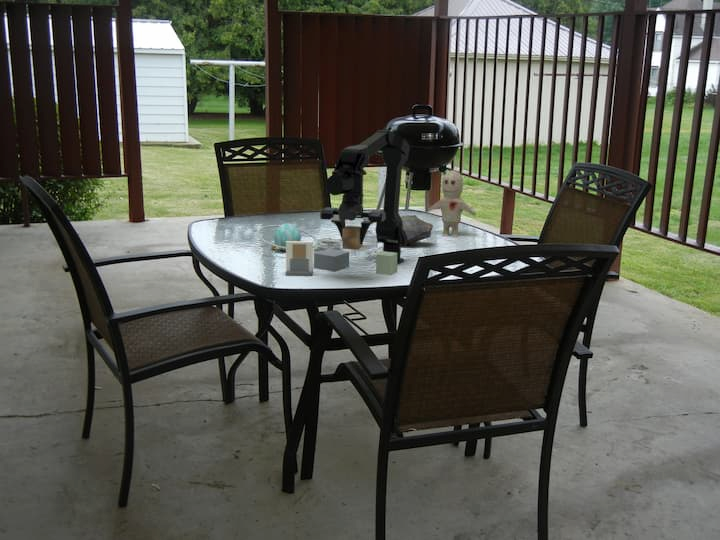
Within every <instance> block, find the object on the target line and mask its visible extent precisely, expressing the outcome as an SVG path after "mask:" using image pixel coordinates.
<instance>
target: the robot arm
mask: <svg viewBox="0 0 720 540" xmlns="http://www.w3.org/2000/svg"><path fill="white" fill-rule="evenodd" d="M379 151H381V152H382V154H381V155H382V156H381V157H382V160H383V162H384V164H385V166H386V168H385V169H386V170H385V184H384V185H385V186H384V197H383V209H382V210H378V209H372V210H371V211H369V212H367V211H366V212H365V211H364V203H363V202H364V176H366V175H367V171H366V170H364V168H365V167H366V166H367V165H368V164H369V163H370V157H372V156H373V155H375V154H376V153H378V152H379ZM410 151H411V146H410V144H409V143H408V141H407V140H406V139H405V138H403V137H401V136H400V135H397V134H395V133H394V131H392V130H389V129H388V130H387V129H378V130H376V131H375V132H374V134H373V135H371V136H369V137H368V138H366V139H365V140H363V141H362V142H360V144H357V145H350V146H347V147H344V148H343V149H342V150H341V151H340V153H339V156H338V158H337V161H336V165H335V166H334V169H333V170H332V172H331V175H330V176H329V177H328V178H327V179H326V182H325V188H326V191H327V192H328V194H330V195H332V196H340V195H342V200H341V203H340V204H339V207H329V206H327V207H324V208H323V209H321V211H320V214H319V215H320V219H321V220H330V222H331V223H333V224H334V225H335V226H336V228H337V229H338V232H339V235H340V239H342V229H343V228H344V227H346V221H354V220H355V221H356V219H362V220H363V221H362V222H361V223H360V227H361V236H360V244H362V243H364V241H365V238H366V235H367V233H368V230H369V227H370V226H371V225H372V224H374V223H375V234H376V235H375V236H376V242H377V243H382V244H383V245H382V251H385V252H394V253H397V265H398V264H399V263H402V262H404V261H405V259H404V258H403V257H402V258H401V255H402V254H401V252H402V248H401V246H406V245H407V244H406V243H407V238H408V237H407V235H406V233H405V231H404V230H403V221H402V219H401V215H400V214H399V211H400V210H399V208H400V197H401V196H400V194H401V183H402V174H403V173H402V171H403V167H404V166H405V164H406V163H407V161H408V159H409V153H410Z"/></svg>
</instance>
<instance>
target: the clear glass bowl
mask: <svg viewBox="0 0 720 540" xmlns="http://www.w3.org/2000/svg"><path fill="white" fill-rule="evenodd" d="M267 228H268V229H269V228H276V229H275V230H274V233H273V241H274V243H272V242H269V241H267V240H265V239H264V238H262V236H260V234H259V233H260V231H261V230H263V229H267ZM301 232H302V233H304V234H306V235H309V236H310V237H312V238H313V239H314V240H315V243H314V244H313V249H314V248H316V247H317V246H318V243H319V241H318V239H317V237H316V236H314V234H312V233H310V232H308V231H306V230H304V229H302V228H299V227H297V226H296V225H294V224H293V223H288V222H287V223H286V222H284V223H283V224H271V225H269V224H268V225H265V226H262V227H260V228H258V229H257V231H256V236H257V237H258V239H259V240H261V241H263V243H265V244H267V245H269V246H270V249H271V250H275V249H276V248H278V249H279V250H281V251H283V252H286V241H302V234H301Z"/></svg>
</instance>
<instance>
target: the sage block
mask: <svg viewBox="0 0 720 540" xmlns="http://www.w3.org/2000/svg"><path fill="white" fill-rule="evenodd" d="M375 257H376V258H375V274H381V275H387V276H392V275H393V274H395V273H397V272H398V264H397V253H394V252H385V251H383V250H382V251H381V252H378V253H376V254H375Z"/></svg>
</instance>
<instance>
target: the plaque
mask: <svg viewBox="0 0 720 540" xmlns="http://www.w3.org/2000/svg"><path fill="white" fill-rule="evenodd" d="M313 246H314V244H313V241H309V240H308V241H306V240H305V241H304V240H303V241H302V240H301V241H286V251H285V259H286V260H285V267H286V268H285V269H286V271H285V276H286V277H287V276H288V277H291V276H292V277H312V276H313V273H314V253H313V252H314V250H313V249H314V248H313Z"/></svg>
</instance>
